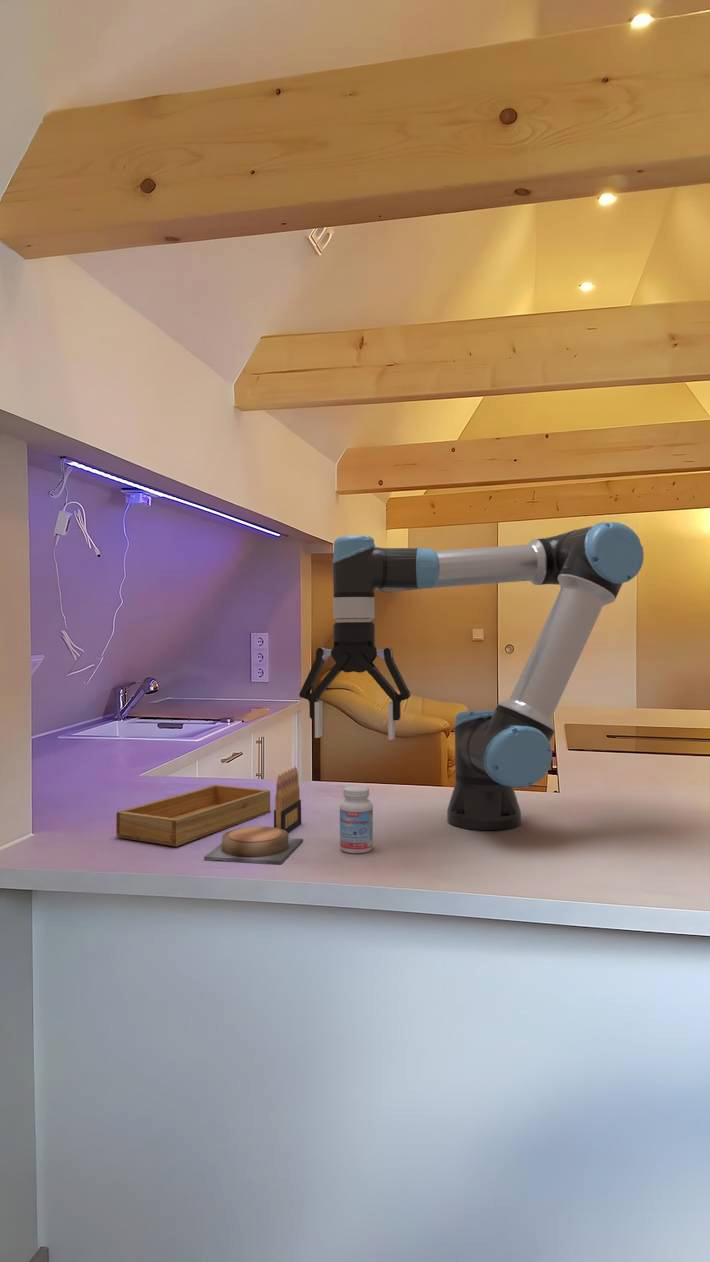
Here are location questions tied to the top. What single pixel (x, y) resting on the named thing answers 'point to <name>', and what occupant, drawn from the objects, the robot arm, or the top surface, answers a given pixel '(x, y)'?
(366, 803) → the pill bottle
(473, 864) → the top surface
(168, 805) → the tray
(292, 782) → the colored pencil set
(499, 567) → the robot arm
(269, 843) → the plinth
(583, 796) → the top surface
